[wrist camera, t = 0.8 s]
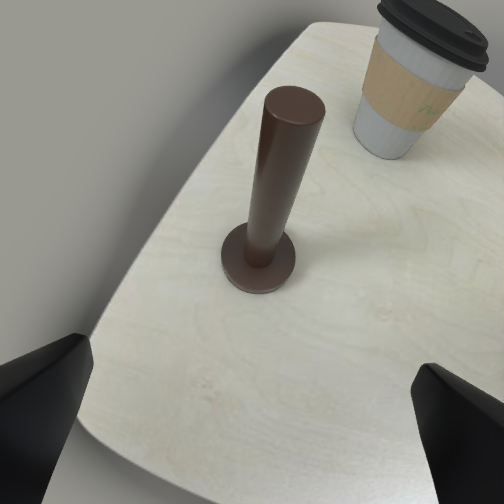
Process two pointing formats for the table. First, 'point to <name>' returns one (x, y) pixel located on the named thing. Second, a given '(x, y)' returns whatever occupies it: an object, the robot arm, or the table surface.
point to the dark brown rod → (274, 191)
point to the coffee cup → (415, 73)
